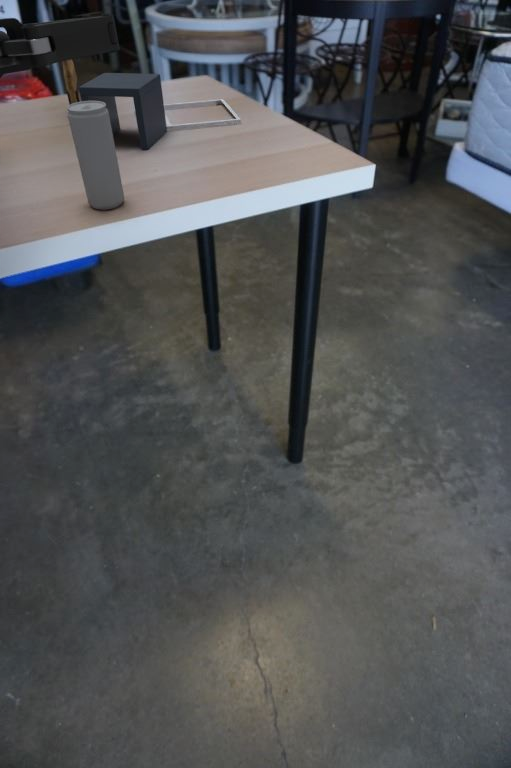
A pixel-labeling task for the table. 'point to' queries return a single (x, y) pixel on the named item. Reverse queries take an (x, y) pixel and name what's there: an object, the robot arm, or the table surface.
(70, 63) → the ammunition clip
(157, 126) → the shelf
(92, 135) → the beverage can
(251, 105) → the table surface
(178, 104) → the photo frame
